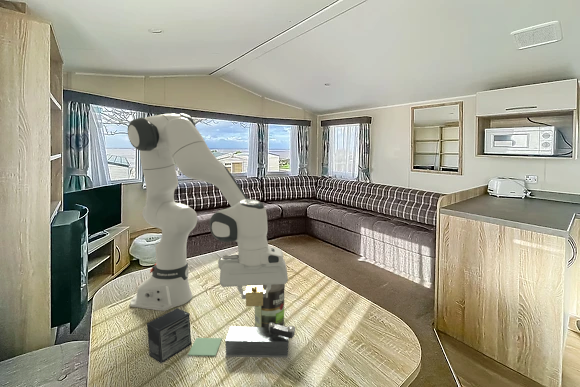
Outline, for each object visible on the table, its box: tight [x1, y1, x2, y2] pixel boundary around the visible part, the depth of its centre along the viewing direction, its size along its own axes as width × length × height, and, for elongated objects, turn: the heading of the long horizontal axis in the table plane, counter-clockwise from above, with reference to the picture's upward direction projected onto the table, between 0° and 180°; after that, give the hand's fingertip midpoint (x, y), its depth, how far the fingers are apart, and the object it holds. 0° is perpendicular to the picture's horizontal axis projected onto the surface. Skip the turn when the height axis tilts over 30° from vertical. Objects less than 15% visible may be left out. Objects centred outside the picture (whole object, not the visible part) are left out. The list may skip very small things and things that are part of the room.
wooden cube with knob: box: [245, 285, 263, 308], centre depth 95 cm, size 5×5×5 cm
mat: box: [187, 337, 223, 357], centre depth 95 cm, size 8×8×1 cm
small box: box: [146, 307, 193, 364], centre depth 93 cm, size 11×6×10 cm, turn 145°
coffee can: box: [254, 284, 286, 327], centre depth 106 cm, size 10×10×14 cm
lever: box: [269, 322, 296, 340], centre depth 92 cm, size 2×8×3 cm, turn 66°
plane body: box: [225, 326, 290, 359], centre depth 94 cm, size 18×7×5 cm, turn 89°
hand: (254, 297), depth 95 cm, fingers closed on wooden cube with knob, 5 cm apart
